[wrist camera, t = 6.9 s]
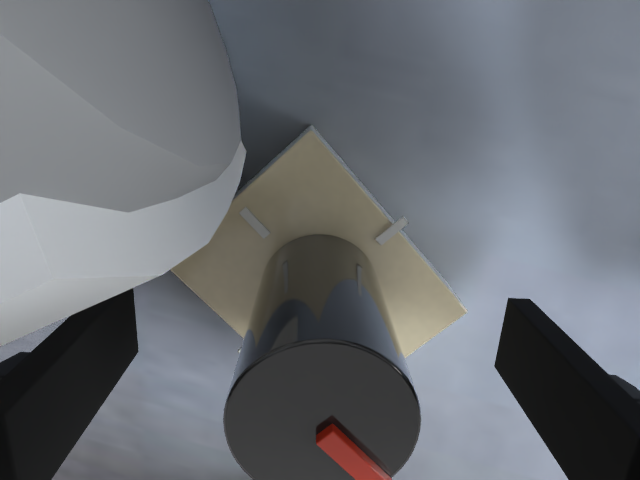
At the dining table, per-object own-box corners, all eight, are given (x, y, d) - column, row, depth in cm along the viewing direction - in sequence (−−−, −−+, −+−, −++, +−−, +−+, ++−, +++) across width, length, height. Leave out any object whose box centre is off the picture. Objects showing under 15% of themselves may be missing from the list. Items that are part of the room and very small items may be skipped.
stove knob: (236, 285, 18) (177, 430, 10) (324, 209, 17) (333, 306, 9) (314, 360, 19) (314, 543, 12) (401, 293, 19) (465, 442, 11)
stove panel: (176, 247, 21) (153, 273, 18) (320, 115, 19) (321, 120, 16) (317, 382, 23) (317, 425, 20) (457, 277, 22) (480, 306, 19)
